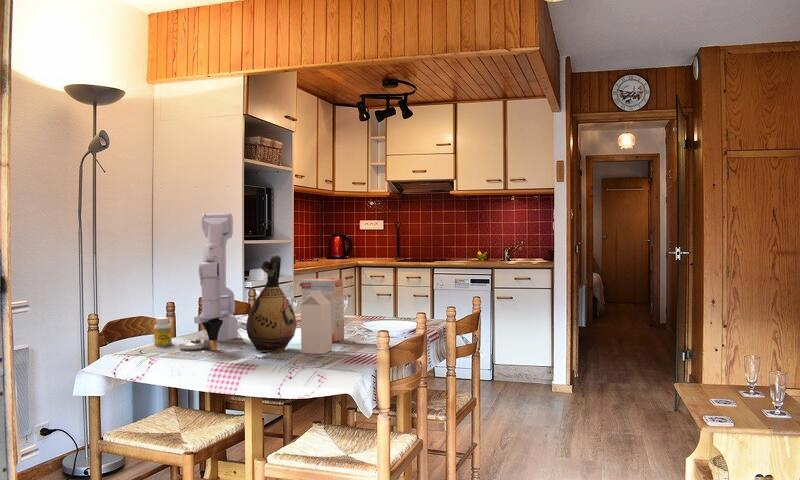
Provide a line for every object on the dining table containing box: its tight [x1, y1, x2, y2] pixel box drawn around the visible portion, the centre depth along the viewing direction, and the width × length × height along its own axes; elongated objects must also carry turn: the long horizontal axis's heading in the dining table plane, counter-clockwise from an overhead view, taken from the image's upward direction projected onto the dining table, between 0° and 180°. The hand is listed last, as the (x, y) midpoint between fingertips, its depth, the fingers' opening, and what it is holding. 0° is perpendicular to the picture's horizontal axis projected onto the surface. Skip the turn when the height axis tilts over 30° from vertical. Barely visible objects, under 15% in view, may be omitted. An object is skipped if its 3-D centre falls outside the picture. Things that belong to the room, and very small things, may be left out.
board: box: [150, 342, 241, 357], centre depth 213 cm, size 20×20×1 cm
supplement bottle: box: [153, 317, 173, 347], centre depth 221 cm, size 5×5×10 cm
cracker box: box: [301, 278, 345, 343], centre depth 229 cm, size 14×6×21 cm, turn 58°
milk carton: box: [300, 290, 333, 355], centre depth 207 cm, size 7×7×19 cm
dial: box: [178, 338, 218, 351], centre depth 211 cm, size 15×10×3 cm
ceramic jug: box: [245, 255, 297, 354], centre depth 211 cm, size 17×15×30 cm
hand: (212, 343), depth 209 cm, fingers closed, pressing on dial
